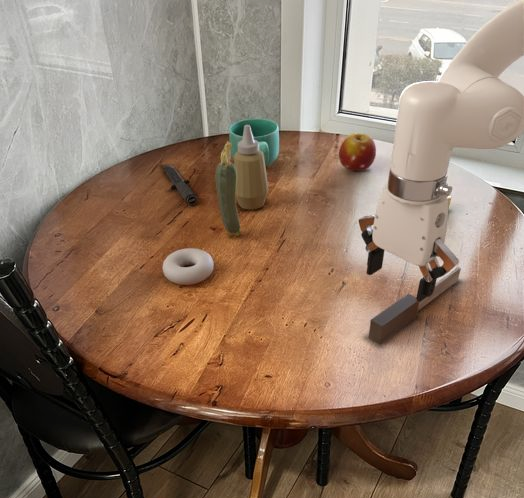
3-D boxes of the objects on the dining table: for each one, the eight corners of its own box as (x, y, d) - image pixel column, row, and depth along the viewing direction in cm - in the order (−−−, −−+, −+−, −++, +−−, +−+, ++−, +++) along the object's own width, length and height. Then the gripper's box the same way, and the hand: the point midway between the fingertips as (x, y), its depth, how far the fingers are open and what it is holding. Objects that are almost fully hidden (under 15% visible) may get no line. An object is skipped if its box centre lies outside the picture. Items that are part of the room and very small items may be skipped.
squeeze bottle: (274, 199, 127) (272, 121, 115) (260, 215, 122) (256, 135, 109) (243, 193, 130) (238, 116, 117) (228, 209, 124) (221, 130, 112)
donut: (217, 285, 103) (211, 255, 110) (215, 270, 101) (210, 241, 108) (165, 292, 102) (162, 262, 109) (162, 277, 100) (160, 247, 107)
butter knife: (462, 283, 100) (466, 265, 98) (379, 344, 89) (382, 326, 86) (450, 277, 102) (455, 260, 99) (368, 338, 90) (370, 319, 88)
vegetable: (225, 242, 114) (216, 149, 100) (218, 232, 117) (208, 141, 103) (244, 237, 115) (238, 144, 101) (237, 227, 118) (229, 136, 104)
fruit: (364, 178, 133) (367, 146, 127) (331, 171, 136) (332, 140, 131) (380, 163, 138) (383, 132, 133) (347, 157, 142) (350, 126, 137)
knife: (200, 200, 126) (192, 192, 124) (185, 213, 127) (177, 205, 125) (178, 159, 143) (172, 151, 141) (165, 170, 144) (158, 163, 142)
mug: (229, 156, 145) (226, 120, 139) (275, 151, 146) (274, 115, 140) (236, 183, 133) (233, 146, 127) (286, 178, 134) (285, 140, 128)
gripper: (487, 194, 71) (459, 297, 83) (383, 155, 81) (370, 253, 92) (455, 214, 67) (430, 319, 79) (349, 171, 77) (341, 271, 89)
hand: (398, 283), depth 86 cm, fingers open, 9 cm apart
